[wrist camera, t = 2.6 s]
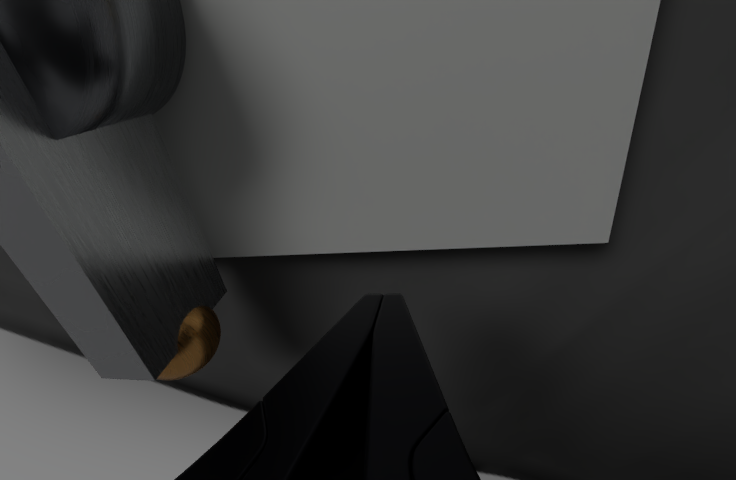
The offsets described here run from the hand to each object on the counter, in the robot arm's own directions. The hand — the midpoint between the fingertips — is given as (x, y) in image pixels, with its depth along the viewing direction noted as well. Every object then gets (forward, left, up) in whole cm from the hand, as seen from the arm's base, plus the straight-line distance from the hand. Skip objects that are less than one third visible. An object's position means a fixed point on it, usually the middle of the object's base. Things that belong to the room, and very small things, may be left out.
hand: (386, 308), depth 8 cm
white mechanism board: (+5, -8, -4) cm, 10 cm away
